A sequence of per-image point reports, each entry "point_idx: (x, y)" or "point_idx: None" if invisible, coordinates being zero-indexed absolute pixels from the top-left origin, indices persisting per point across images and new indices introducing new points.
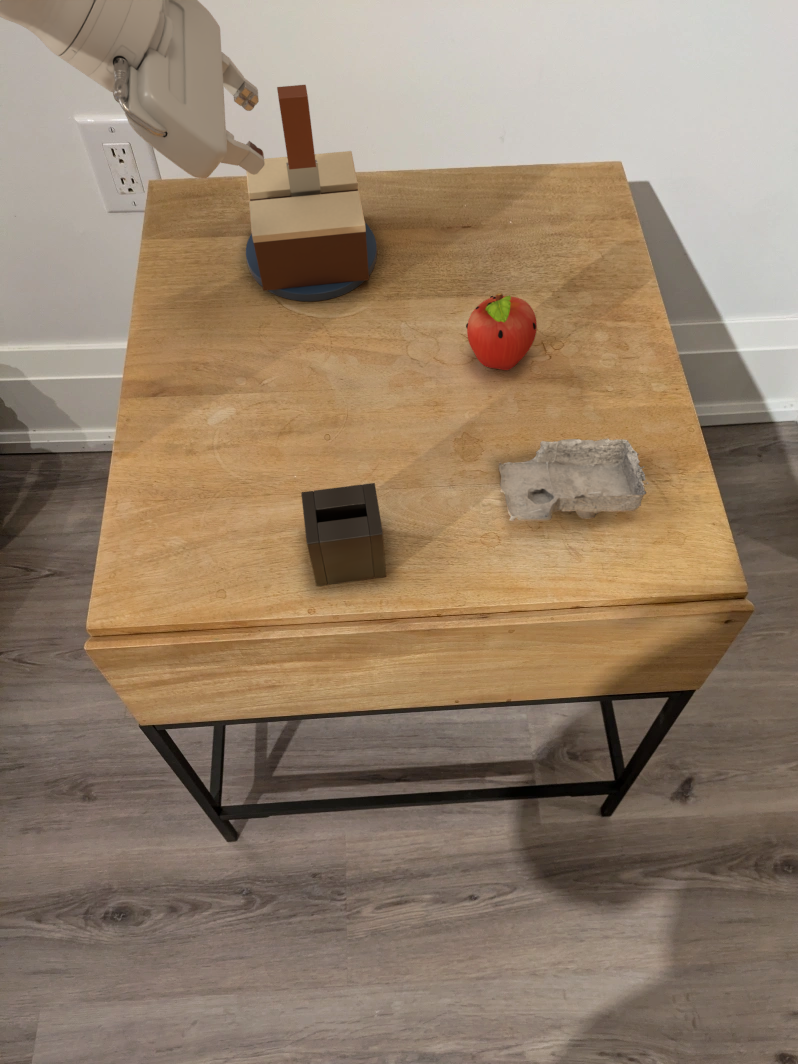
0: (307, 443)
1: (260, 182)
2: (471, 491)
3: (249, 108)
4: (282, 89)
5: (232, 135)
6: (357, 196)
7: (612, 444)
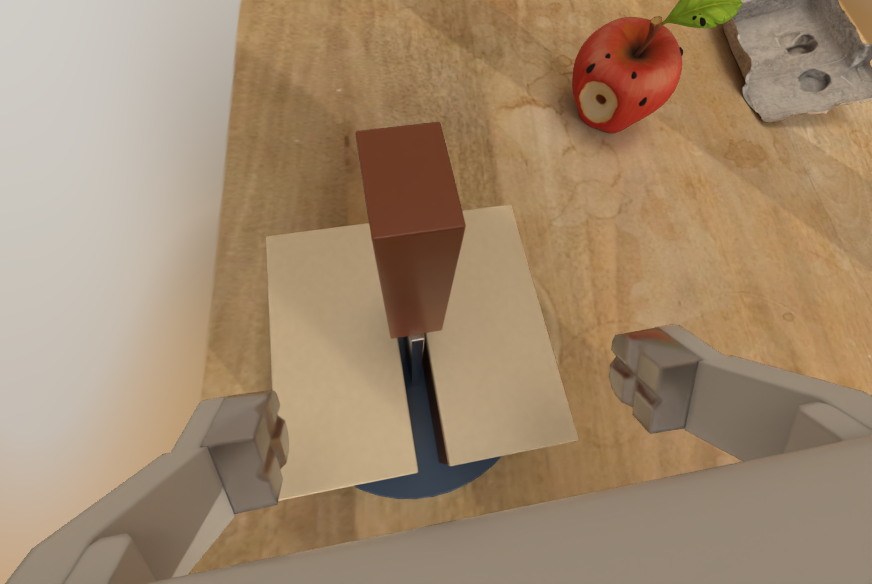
0: (808, 344)
1: (374, 443)
2: (805, 153)
3: (286, 438)
4: (392, 216)
5: (812, 410)
6: None
7: None
